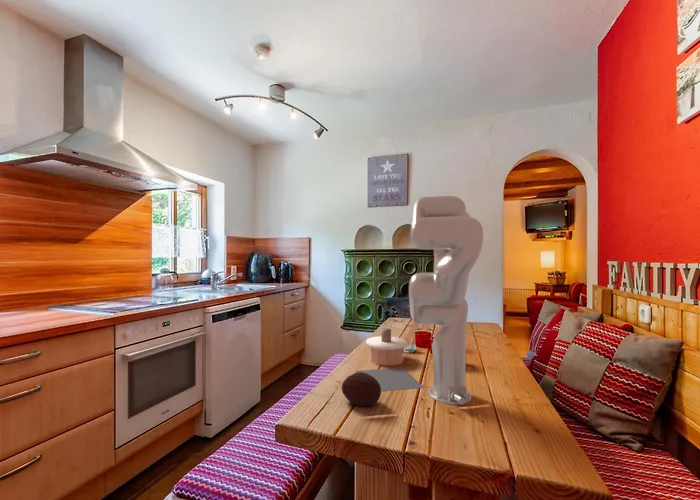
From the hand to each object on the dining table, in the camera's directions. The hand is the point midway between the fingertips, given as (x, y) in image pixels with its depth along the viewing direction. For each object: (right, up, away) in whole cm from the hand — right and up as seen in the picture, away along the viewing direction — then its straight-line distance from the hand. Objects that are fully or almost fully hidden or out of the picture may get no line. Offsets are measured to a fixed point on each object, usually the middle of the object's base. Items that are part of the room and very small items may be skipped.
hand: (444, 295), depth 120 cm
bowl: (-21, -29, +9) cm, 37 cm away
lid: (-21, -22, +9) cm, 32 cm away
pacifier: (-9, -29, +23) cm, 38 cm away
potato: (-33, -28, -29) cm, 52 cm away
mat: (-23, -28, -11) cm, 38 cm away
